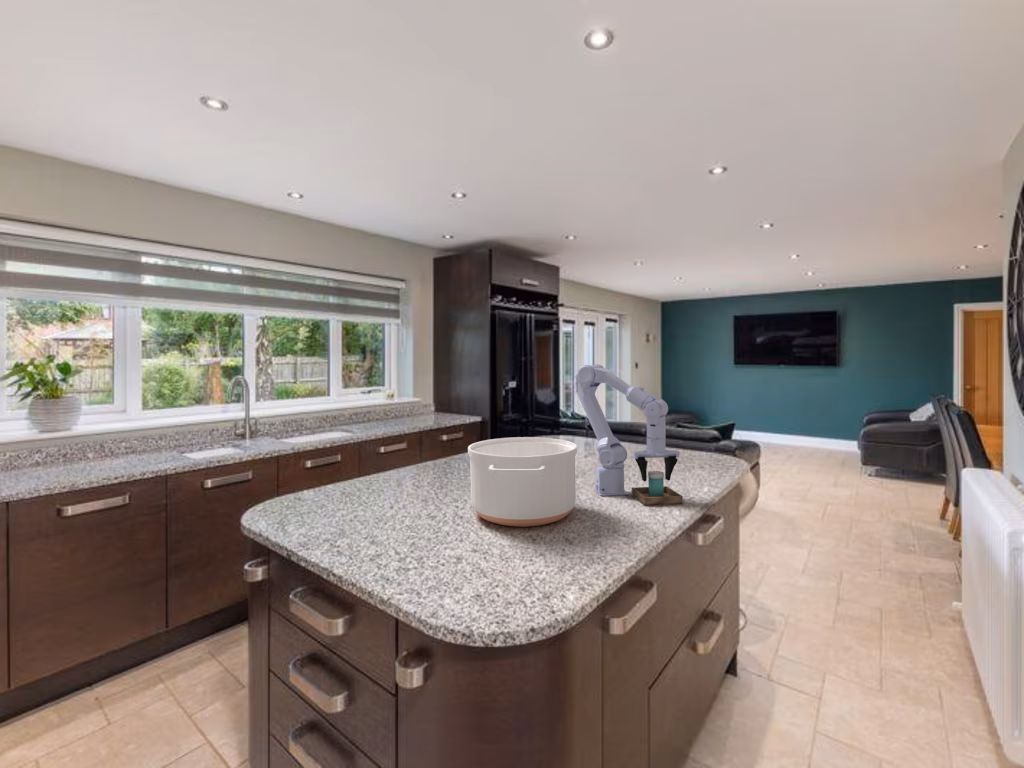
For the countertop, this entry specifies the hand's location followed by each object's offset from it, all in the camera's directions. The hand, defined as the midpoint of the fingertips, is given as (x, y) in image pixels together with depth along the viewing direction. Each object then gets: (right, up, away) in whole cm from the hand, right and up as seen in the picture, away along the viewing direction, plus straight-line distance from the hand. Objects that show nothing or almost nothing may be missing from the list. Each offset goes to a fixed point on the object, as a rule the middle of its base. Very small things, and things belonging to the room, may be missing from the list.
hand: (655, 480), depth 155 cm
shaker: (0, -6, 0) cm, 6 cm away
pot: (-42, -8, -11) cm, 45 cm away
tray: (0, -6, 0) cm, 6 cm away
